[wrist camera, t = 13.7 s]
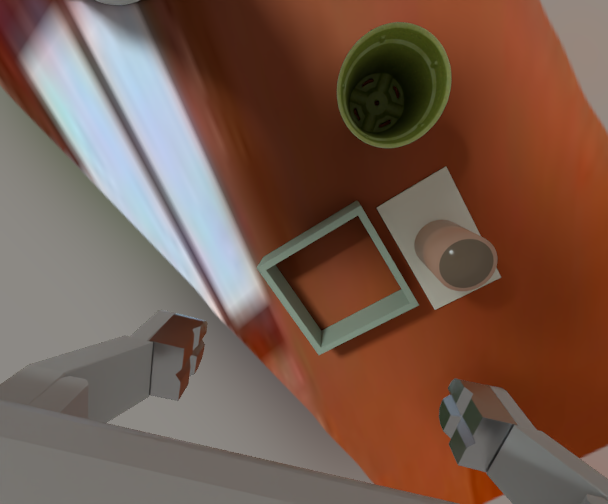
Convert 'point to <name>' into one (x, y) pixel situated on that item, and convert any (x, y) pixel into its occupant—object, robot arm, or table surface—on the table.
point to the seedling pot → (455, 255)
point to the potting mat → (416, 214)
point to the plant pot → (394, 84)
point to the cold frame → (353, 323)
